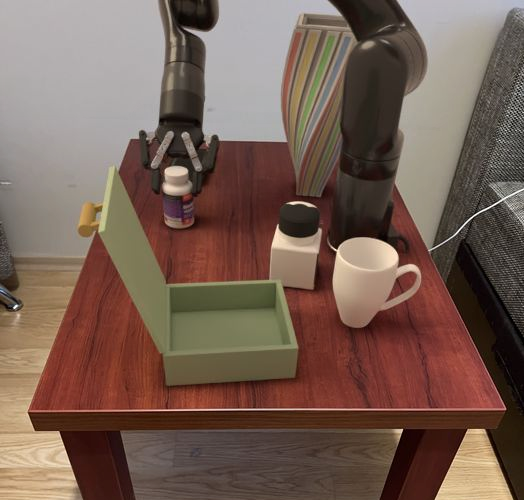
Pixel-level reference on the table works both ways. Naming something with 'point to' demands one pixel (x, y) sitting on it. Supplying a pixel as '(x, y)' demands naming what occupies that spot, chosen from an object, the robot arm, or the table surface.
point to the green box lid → (129, 254)
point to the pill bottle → (177, 198)
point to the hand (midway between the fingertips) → (175, 194)
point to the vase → (315, 97)
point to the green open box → (228, 332)
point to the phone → (188, 163)
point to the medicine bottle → (296, 246)
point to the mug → (367, 279)
